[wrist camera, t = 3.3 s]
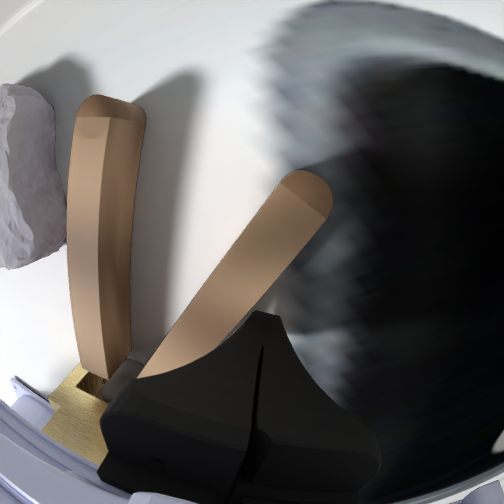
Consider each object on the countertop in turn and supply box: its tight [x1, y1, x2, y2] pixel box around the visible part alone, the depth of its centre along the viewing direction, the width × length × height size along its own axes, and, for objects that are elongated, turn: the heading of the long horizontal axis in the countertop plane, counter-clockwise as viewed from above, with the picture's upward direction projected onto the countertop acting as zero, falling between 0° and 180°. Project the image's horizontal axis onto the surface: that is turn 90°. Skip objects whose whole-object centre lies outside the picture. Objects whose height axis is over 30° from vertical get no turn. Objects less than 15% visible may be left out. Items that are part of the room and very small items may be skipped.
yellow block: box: [41, 363, 109, 466], centre depth 11 cm, size 3×7×6 cm, turn 79°
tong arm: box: [136, 170, 333, 379], centre depth 10 cm, size 12×2×2 cm, turn 144°
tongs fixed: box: [67, 94, 146, 404], centre depth 11 cm, size 18×4×2 cm, turn 169°
